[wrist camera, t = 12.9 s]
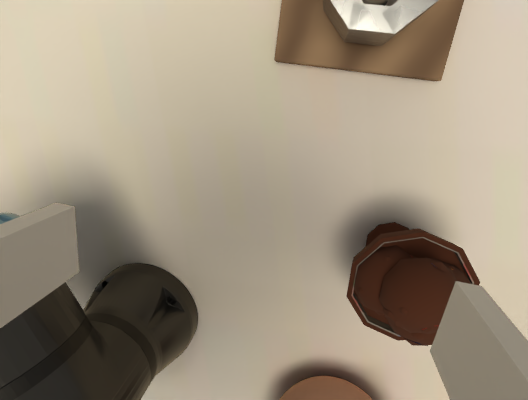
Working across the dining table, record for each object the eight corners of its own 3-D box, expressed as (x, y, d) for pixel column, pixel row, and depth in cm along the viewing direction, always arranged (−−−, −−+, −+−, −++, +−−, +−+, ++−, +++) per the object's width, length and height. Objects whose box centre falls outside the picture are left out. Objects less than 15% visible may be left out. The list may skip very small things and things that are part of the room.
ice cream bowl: (322, 246, 39) (322, 329, 25) (393, 180, 35) (439, 234, 21) (386, 301, 40) (421, 412, 26) (462, 242, 36) (551, 335, 22)
